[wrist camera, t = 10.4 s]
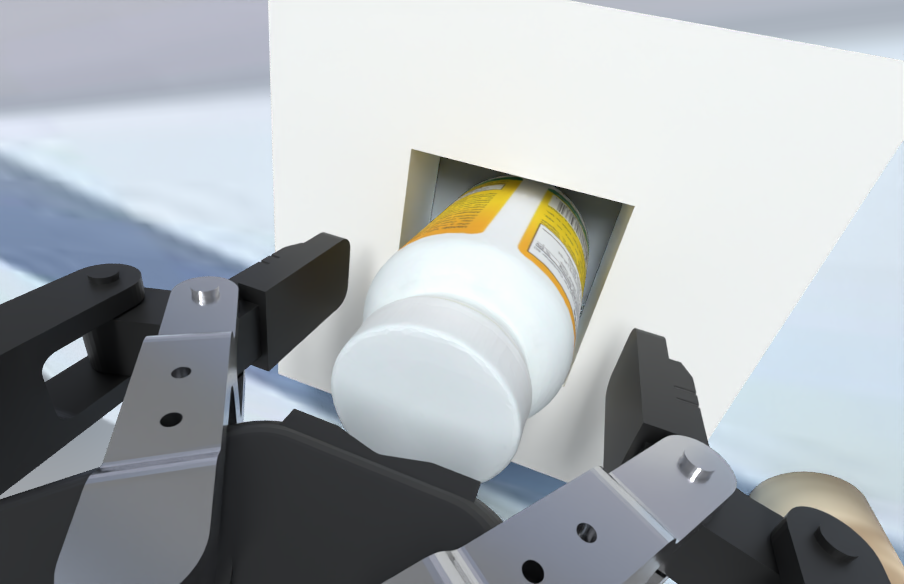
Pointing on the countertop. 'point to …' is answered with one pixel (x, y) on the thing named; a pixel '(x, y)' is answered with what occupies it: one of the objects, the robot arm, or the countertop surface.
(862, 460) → the countertop surface
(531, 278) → the supplement bottle
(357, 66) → the collar block
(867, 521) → the short birch peg
